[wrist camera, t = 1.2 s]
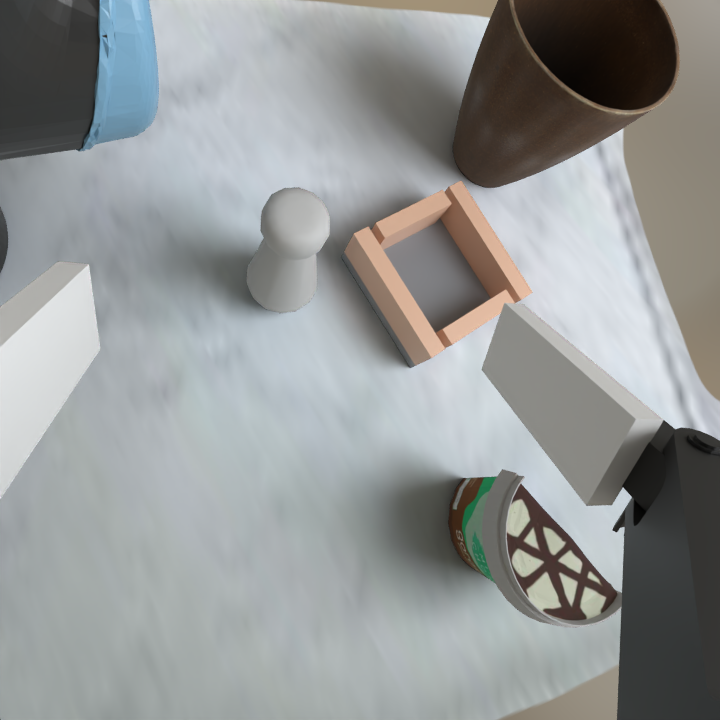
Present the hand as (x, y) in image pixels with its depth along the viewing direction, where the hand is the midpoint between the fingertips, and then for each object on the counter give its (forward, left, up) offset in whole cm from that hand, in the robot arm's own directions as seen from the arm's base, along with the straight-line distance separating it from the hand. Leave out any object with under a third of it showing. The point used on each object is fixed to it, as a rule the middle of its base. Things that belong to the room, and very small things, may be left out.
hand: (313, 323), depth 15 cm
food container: (+20, +9, -24) cm, 32 cm away
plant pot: (-10, +33, -24) cm, 42 cm away
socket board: (-2, +18, -24) cm, 30 cm away
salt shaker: (-8, +6, -24) cm, 26 cm away
